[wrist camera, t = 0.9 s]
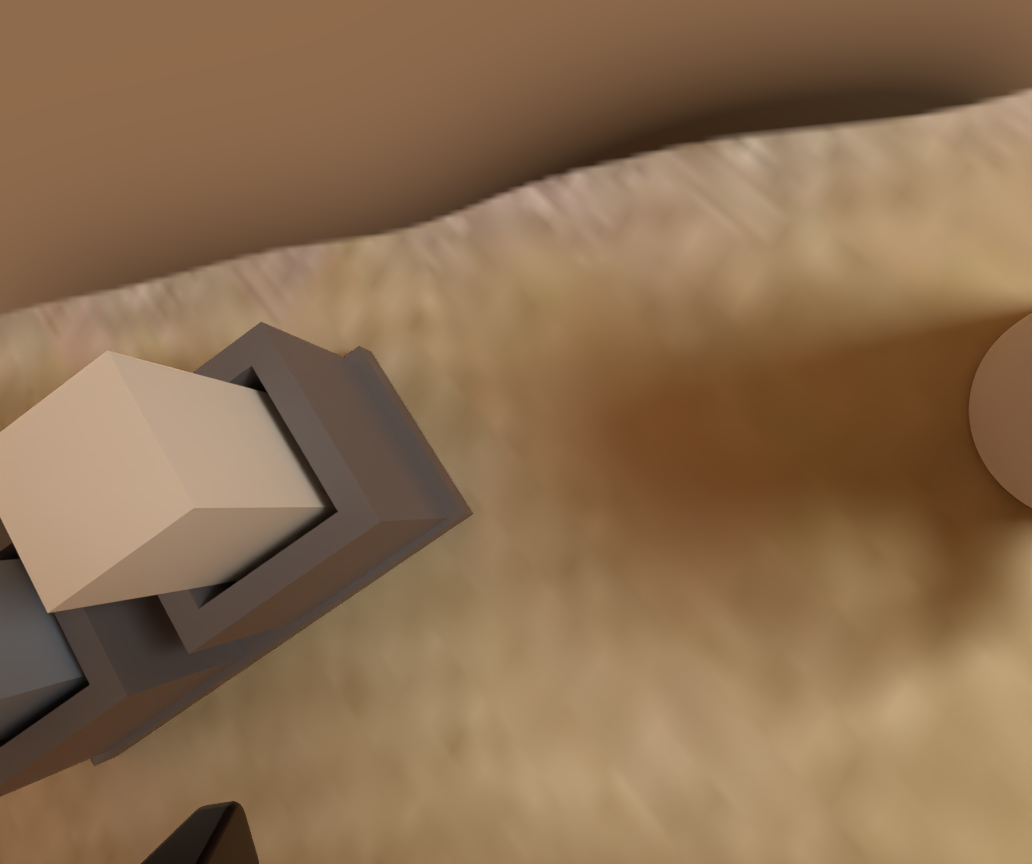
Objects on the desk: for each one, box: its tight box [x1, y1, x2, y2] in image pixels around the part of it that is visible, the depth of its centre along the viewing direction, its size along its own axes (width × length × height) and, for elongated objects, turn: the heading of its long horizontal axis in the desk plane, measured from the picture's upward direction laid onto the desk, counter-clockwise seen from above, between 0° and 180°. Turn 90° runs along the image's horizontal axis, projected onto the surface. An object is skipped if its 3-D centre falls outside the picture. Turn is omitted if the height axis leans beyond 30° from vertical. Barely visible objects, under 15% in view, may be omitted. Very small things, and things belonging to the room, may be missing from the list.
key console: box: [0, 322, 473, 796], centre depth 24 cm, size 6×15×6 cm, turn 123°
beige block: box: [0, 350, 338, 613], centre depth 19 cm, size 4×4×7 cm
